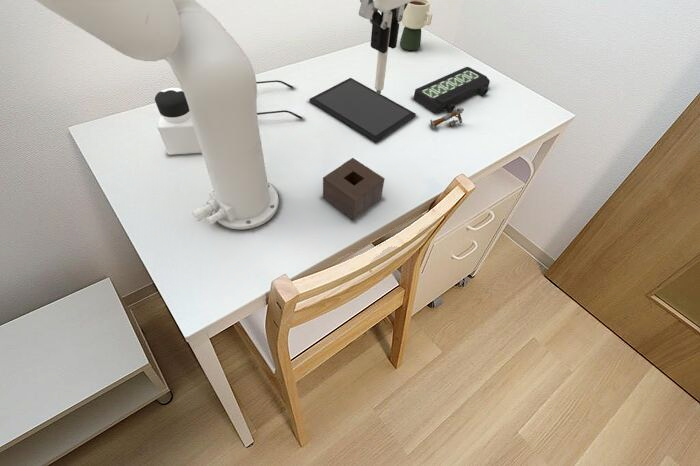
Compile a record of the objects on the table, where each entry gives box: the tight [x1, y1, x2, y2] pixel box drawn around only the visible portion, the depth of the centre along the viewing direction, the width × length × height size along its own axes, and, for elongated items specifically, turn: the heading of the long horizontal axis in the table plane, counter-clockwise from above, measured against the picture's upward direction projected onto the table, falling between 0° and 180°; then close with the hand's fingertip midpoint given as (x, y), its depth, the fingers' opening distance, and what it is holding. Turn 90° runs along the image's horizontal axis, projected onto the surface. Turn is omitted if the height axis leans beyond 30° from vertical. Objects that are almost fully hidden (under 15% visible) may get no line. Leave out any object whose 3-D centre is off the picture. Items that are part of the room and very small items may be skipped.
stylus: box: [374, 11, 392, 94], centre depth 65 cm, size 2×2×14 cm
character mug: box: [399, 0, 433, 51], centre depth 111 cm, size 11×7×13 cm, turn 48°
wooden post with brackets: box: [429, 107, 465, 130], centre depth 91 cm, size 2×8×4 cm, turn 105°
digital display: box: [413, 66, 491, 114], centre depth 100 cm, size 21×3×10 cm
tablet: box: [308, 77, 417, 144], centre depth 94 cm, size 15×22×1 cm
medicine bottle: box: [154, 87, 202, 156], centre depth 78 cm, size 7×7×12 cm
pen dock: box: [322, 157, 385, 221], centre depth 73 cm, size 8×8×6 cm
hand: (383, 46), depth 64 cm, fingers closed on stylus, 1 cm apart
